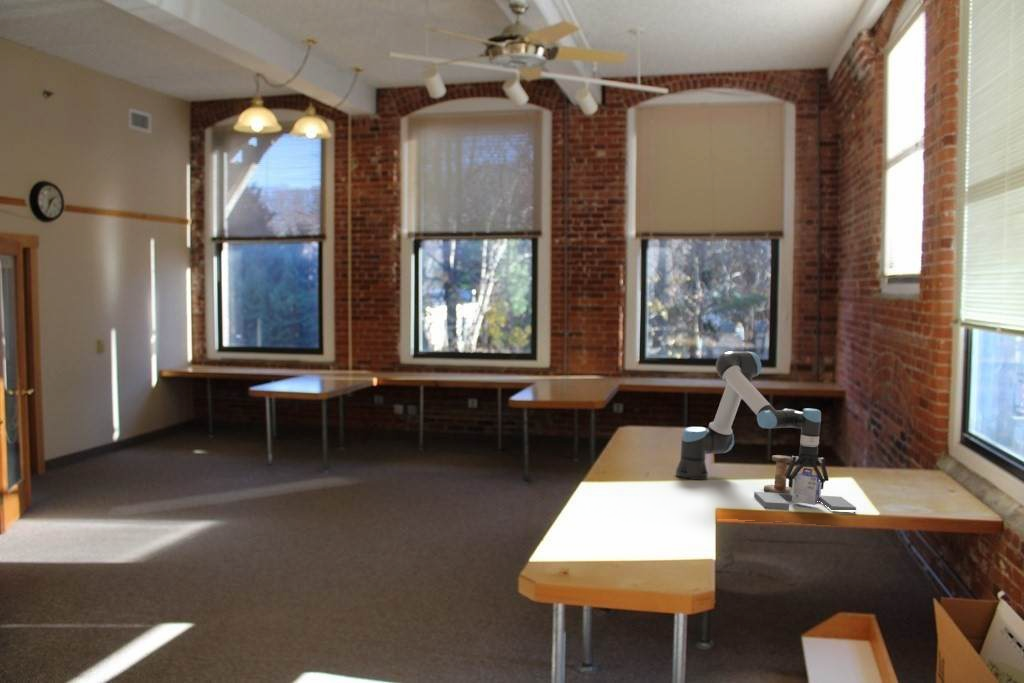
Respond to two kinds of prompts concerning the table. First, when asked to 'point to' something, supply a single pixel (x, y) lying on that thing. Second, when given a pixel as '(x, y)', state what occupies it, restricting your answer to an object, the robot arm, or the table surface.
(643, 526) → the table surface
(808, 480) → the ink cartridge box
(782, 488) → the bobbin
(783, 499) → the notched board
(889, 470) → the table surface
